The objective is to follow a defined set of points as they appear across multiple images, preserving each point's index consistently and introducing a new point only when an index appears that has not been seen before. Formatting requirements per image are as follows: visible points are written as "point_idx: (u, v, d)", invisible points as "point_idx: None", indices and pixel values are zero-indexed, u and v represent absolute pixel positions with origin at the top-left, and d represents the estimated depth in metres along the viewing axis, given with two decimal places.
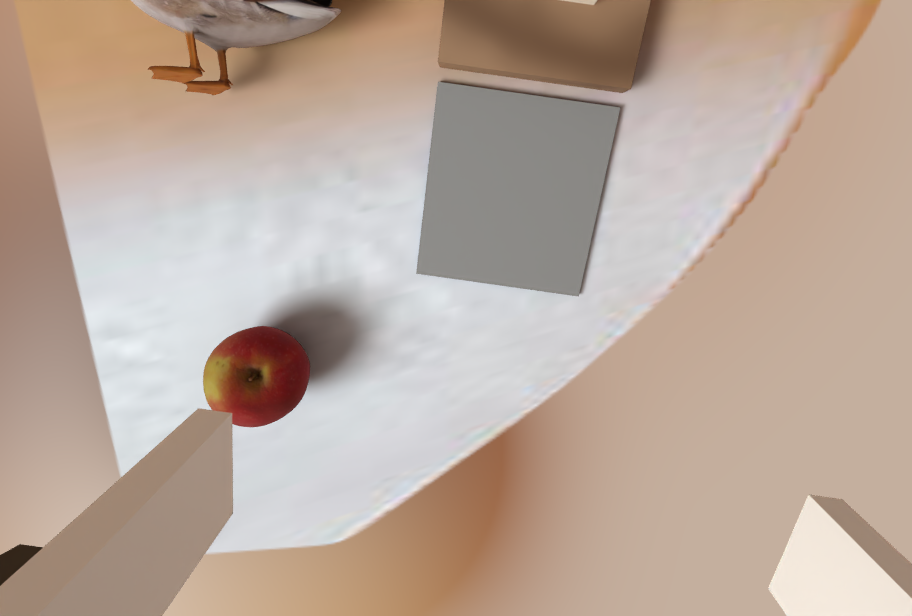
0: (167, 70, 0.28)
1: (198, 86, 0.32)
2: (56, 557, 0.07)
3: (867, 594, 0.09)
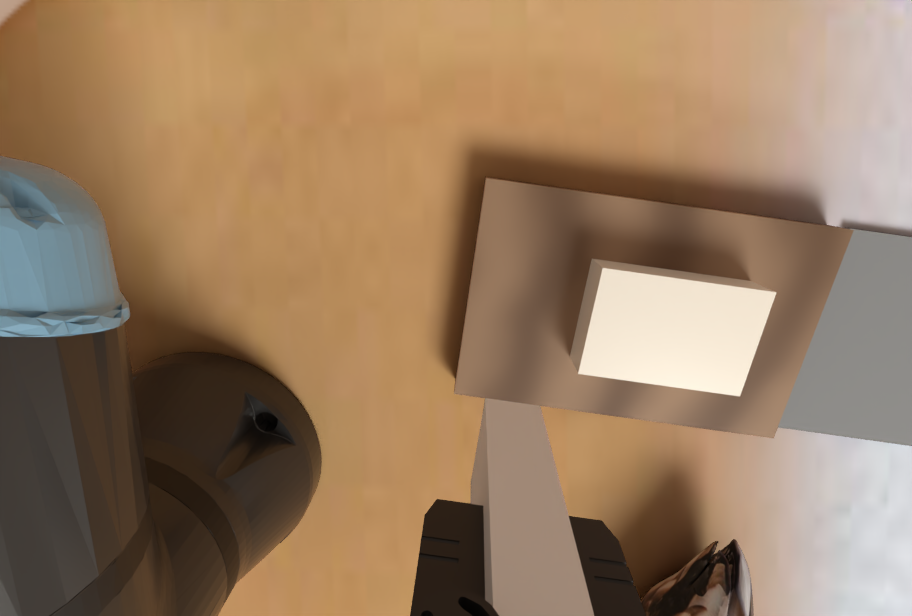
0: None
1: None
2: (504, 504, 0.09)
3: None
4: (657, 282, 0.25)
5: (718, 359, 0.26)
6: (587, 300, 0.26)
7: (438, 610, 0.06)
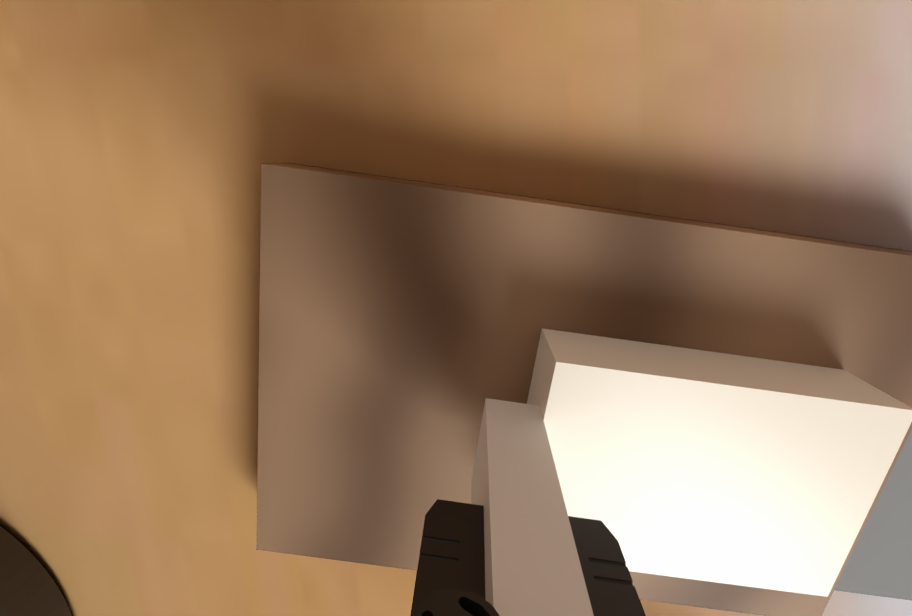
0: None
1: None
2: (505, 504, 0.09)
3: None
4: (670, 390, 0.12)
5: (789, 533, 0.13)
6: None
7: (439, 610, 0.06)
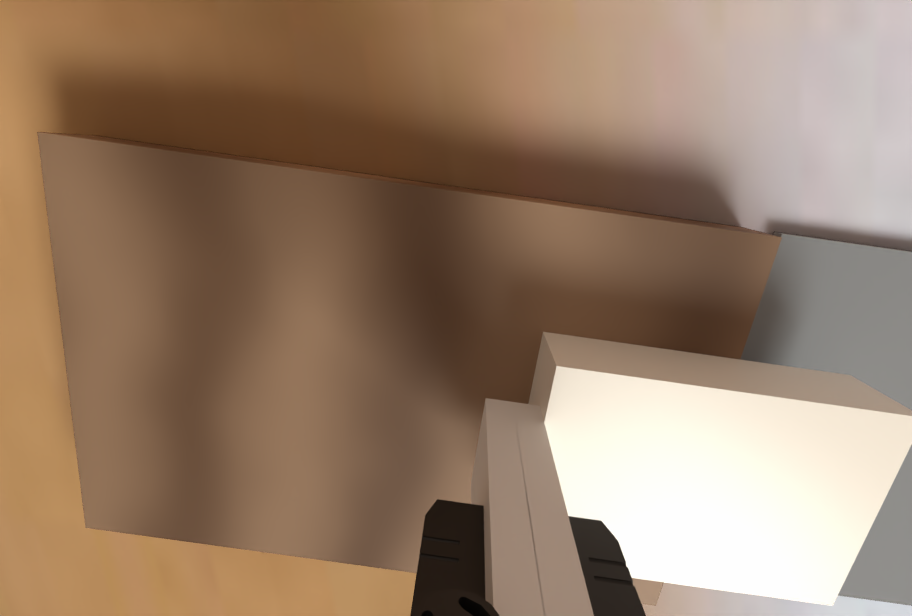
0: None
1: None
2: (505, 504, 0.09)
3: None
4: (672, 396, 0.12)
5: (793, 541, 0.13)
6: None
7: (439, 610, 0.06)
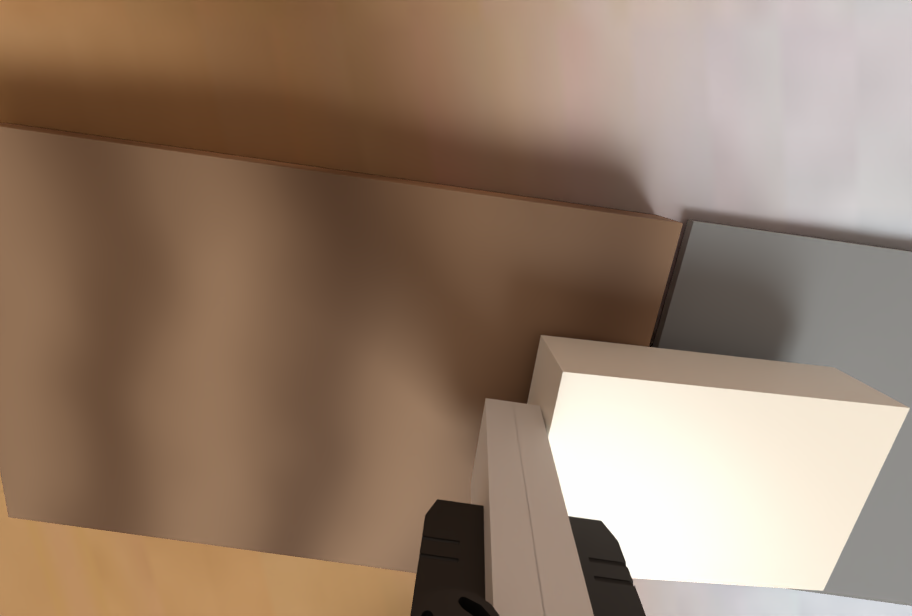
0: None
1: None
2: (505, 504, 0.09)
3: None
4: (677, 397, 0.12)
5: (788, 532, 0.13)
6: None
7: (439, 610, 0.06)
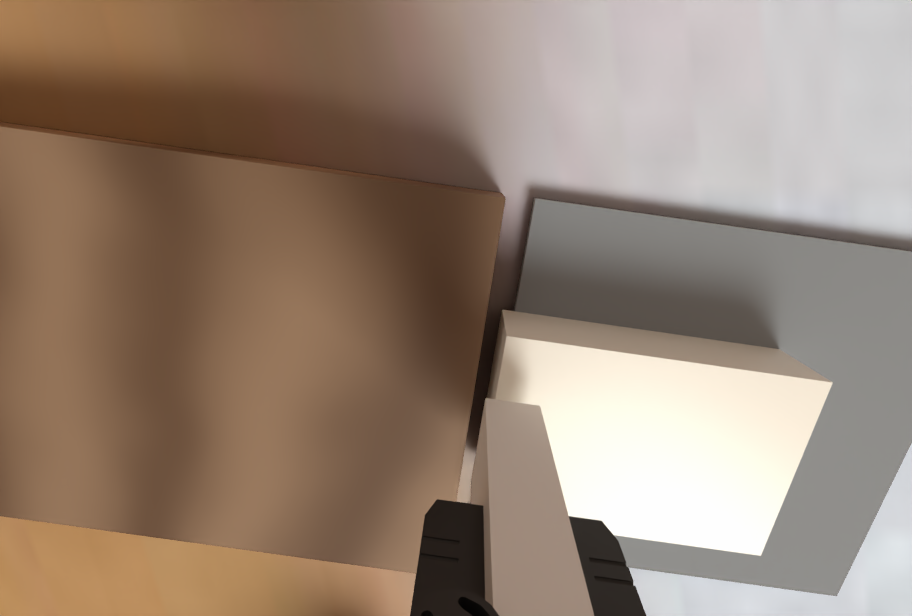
0: None
1: None
2: (505, 504, 0.09)
3: None
4: (609, 362, 0.13)
5: (722, 496, 0.14)
6: (492, 385, 0.15)
7: (438, 610, 0.06)
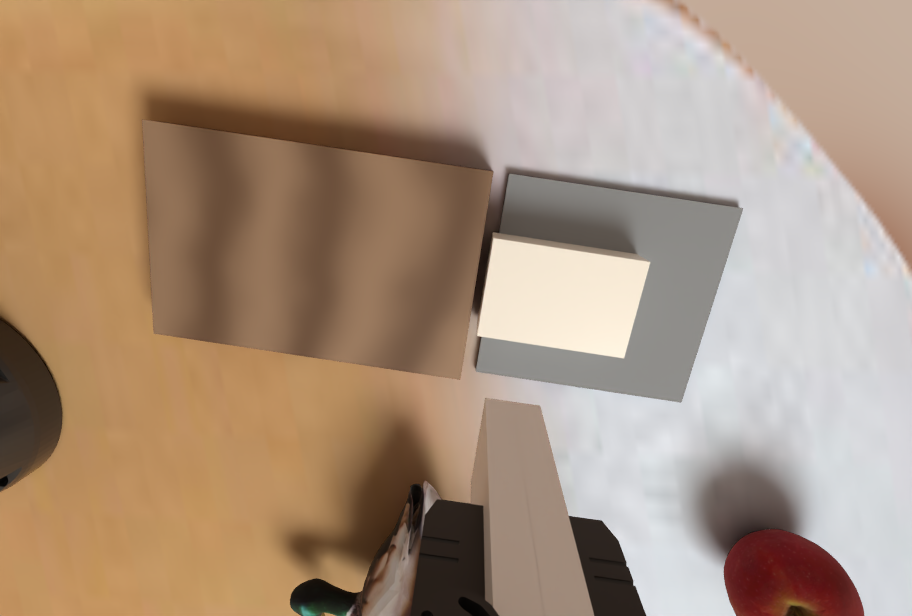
0: None
1: None
2: (504, 504, 0.09)
3: None
4: (543, 252, 0.27)
5: (602, 323, 0.28)
6: (486, 270, 0.29)
7: (438, 610, 0.06)
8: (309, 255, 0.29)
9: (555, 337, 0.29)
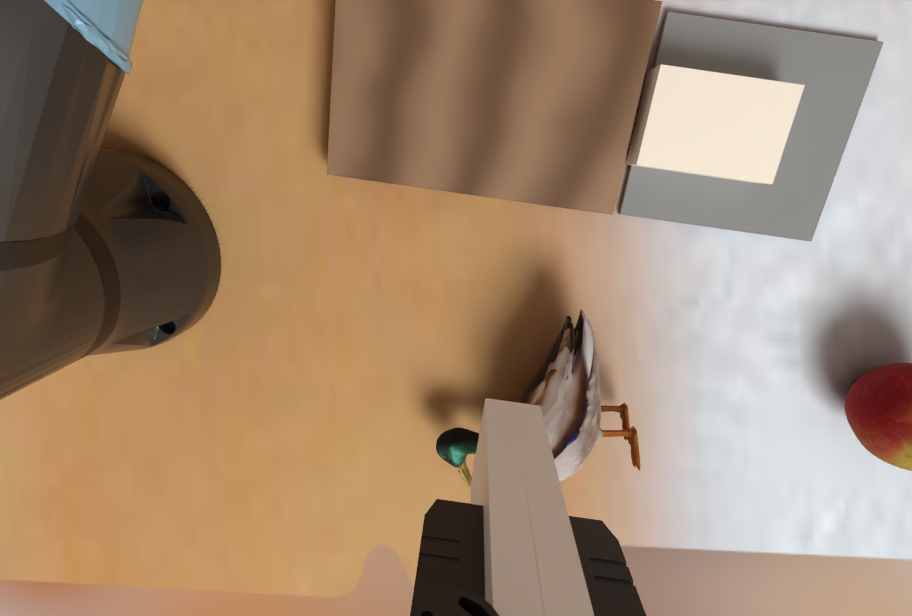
0: (638, 455, 0.33)
1: None
2: (505, 504, 0.09)
3: None
4: (706, 77, 0.30)
5: (755, 149, 0.31)
6: (644, 104, 0.31)
7: (438, 610, 0.06)
8: (482, 90, 0.31)
9: (710, 164, 0.31)
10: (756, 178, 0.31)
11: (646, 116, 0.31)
